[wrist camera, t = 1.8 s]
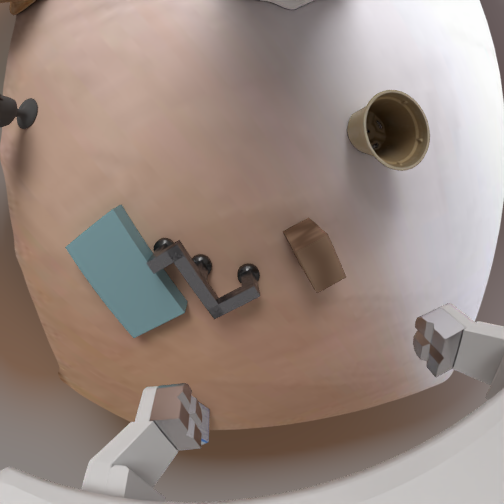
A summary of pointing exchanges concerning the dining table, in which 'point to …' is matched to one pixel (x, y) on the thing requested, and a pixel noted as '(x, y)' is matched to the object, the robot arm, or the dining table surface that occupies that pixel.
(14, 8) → the tan hollow bent piece
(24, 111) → the sundae
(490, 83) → the dining table surface
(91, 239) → the platform
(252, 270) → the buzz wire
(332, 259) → the walnut block
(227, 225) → the dining table surface
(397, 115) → the flower pot
